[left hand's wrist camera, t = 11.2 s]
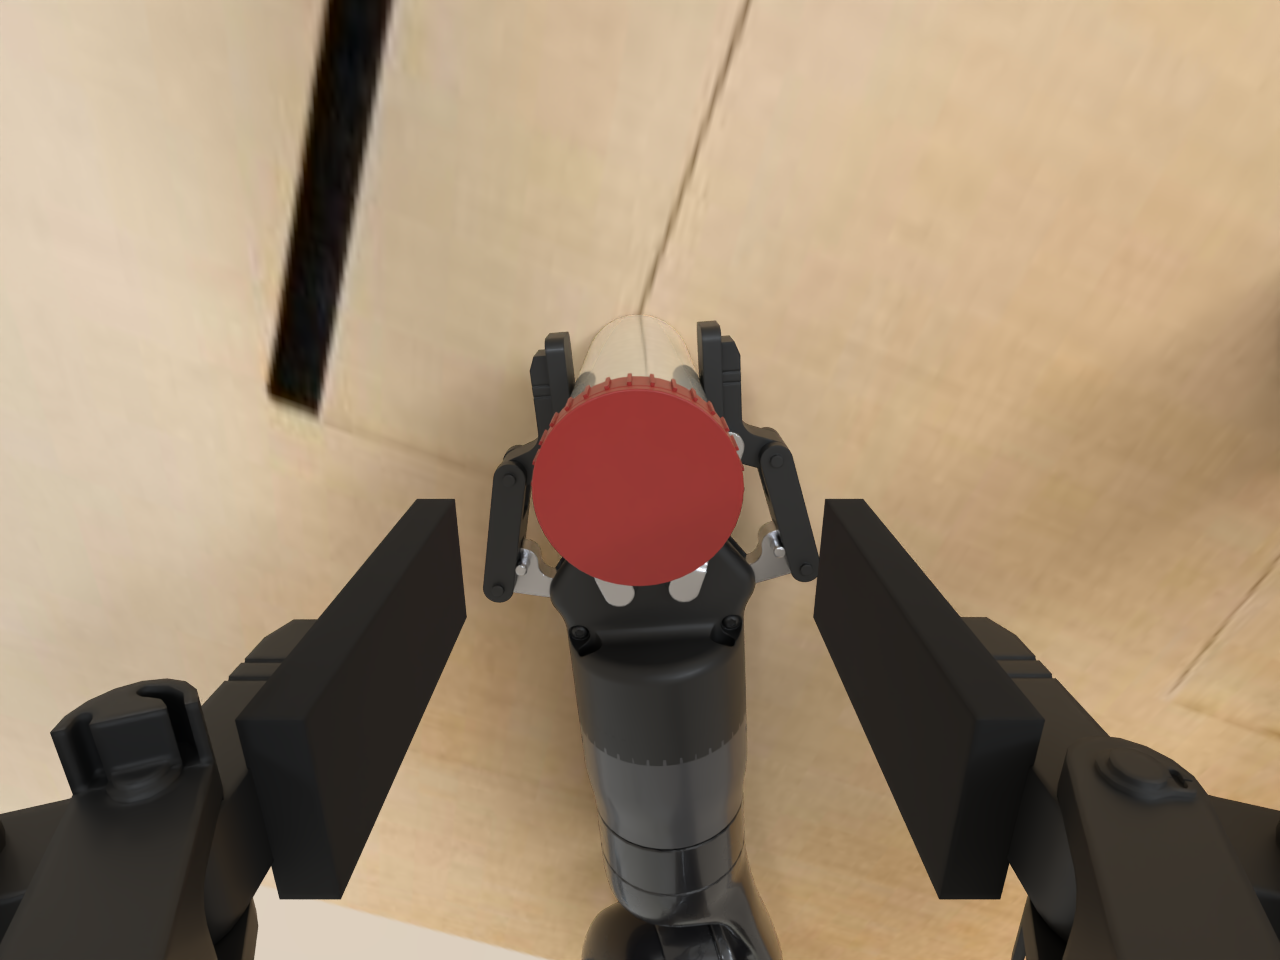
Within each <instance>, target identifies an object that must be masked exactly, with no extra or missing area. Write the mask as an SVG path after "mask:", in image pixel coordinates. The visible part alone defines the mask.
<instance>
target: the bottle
mask: <svg viewBox="0 0 1280 960" xmlns="http://www.w3.org/2000/svg"><path fill="white" fill-rule="evenodd" d="M628 373H632V376H647V377H650V374H654V378H660V379H664V380H667V381H671V379H675V380H676V384H678V385H681V386H683V387H685V388H687V389H689V390H690V389H691V388H693V389H695V391H696V394H697V395H698V396H699V397H700V398H702V399H703V400H704V401H705V402H708V400H707V398H706V395H705V393H704V390H703V388H702V385H701V383H700V380H699V377H698V375H697V372H696V370H695V367H694V365H693V362H692V359H691V357H690V354H689V352H688V349H687V347H686V344H685V342H684V341H683V339H682V337H681V336H680V335H679V333H678V332H677V331H676V330H675V329H674V328H673V327H672V326H670V325H669V324H668V323H666V322H664V321H663V320H661V319H658V318H656V317H653V316H649V315H638V314H635V315H628V316H624V317H621V318H618V319H616V320H614V321H612V322H610V323H609V324H607V325H606V326H605V327H604V328H603V329H602V330H601V331H600V332H599V333H598V334H597V335H596V337H595V338H594V340H593V341H592V343H591V345H590V348H589V350H588V353H587V355H586V358H585V360H584V363H583V365H582V368H581V370H580V373H579V375H578V378H577V380H576V383H575V385H574V388H573V390H572V393H571V396H570V397H572V398H573V399H574V398H575V397H576V396H578V395H579V394H580V393H582V392H584V391H585V388H586V386H588V385H590V387H593V386H595V385H597V384H600V383H602V382H605V380H606V378H607V377H610V379H611V380H612V379H616V378H621V377H627V376H628Z"/></svg>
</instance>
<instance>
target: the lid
mask: <svg viewBox="0 0 1280 960" xmlns="http://www.w3.org/2000/svg"><path fill="white" fill-rule="evenodd" d="M549 426H550V428H549V430H545V431H544V433H543V435H542V438H541V440H540V442H539V445H541V448H540V449H538V451H537V454H536V456H535V458H534V460H533V464H532V465H535V466H534V470H533V477H532V481H531V486H532V499H533V504H534V510H535V513H536V516H537V519H538V522H539V524H540V526H541V528H542V530H543V532H544V534H545V536H546V537H547V539H548V540H549V542H550V543H551V545H552V546H553V547H554V548H555V549H556V550H557V552H558V553H559V554H560V555H561V556H562V557H563V558H565V559H566V560H567V561H568V562H569V563H570V564H572V565H573V566H575V567H576V568H578V569H579V570H581V571H582V572H584V573H586V574H588V575H590V576H592V577H595V578H597V579H600V580H603V581H606V582H610V583H614V584H619V585H627V586H649V585H657V584H661V583H666V582H670V581H673V580H676V579H678V578H681V577H683V576H685V575H687V574H689V573H691V572H693V571H695V570H696V569H698V568H699V567H701V566H703V565H704V564H705V563H706V562H708V561H709V560H710V559H711V558H712V557H713V556H714V555H715V554H716V553H717V552H718V551H719V550H720V549H721V548H722V547H723V545H724V544H725V542H726V541H727V540H728V538H729V537H730V535H731V533H732V531H733V529H734V528H735V526H736V523H737V520H738V518H739V515H740V512H741V507H742V502H743V492H744V483H743V473H742V471H744V467H743V465H742V462H741V460H740V458H739V455H738V454H737V452H736V451H738V450H739V448H738V445H737V443H736V441H735V439H734V436H733V435H731V436H730V435H729V433H728V431H730V430H729V428H728V425H727V423H726V421H725V419H724V417H721V418H720V417H719V416H718V415H717V413H716V412H715V410H714V408H713V405H712V403H711V402H710V401H708V402H705V401H704V400H703V399H702V398H700V397H699V396H698V395H697V394H696V391H695V389H693V388H691V389H690V390H689V389H687V388H685V387H683V386H681V385H678V384H676V380H675V379H671V381H667V380H664V379H660V378H654V374H650V377H647V376H632V373H628V376H627V377H621V378H616V379H612V380H611V379H610V377H607V378H606V380H605V382H602V383H600V384H597V385H595V386H593V387H590V385H588V386H586V388H585V391H584V392H582V393H580V394H579V395H578V396H576V397H575V398H574V399H573V398H572V397H570V398H569V399H568V401H567V403H566V406H565V407H564V408H563V409H562V410H561V412H560V413H557V412H556V413H555V414H554V416H553V418H552V420H551V423H550V425H549Z"/></svg>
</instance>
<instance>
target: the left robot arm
mask: <svg viewBox="0 0 1280 960" xmlns="http://www.w3.org/2000/svg"><path fill="white" fill-rule="evenodd" d="M466 617H467V616H466V606H465V596H464V586H463V576H462V566H461V556H460V546H459V536H458V526H457V517H456V507H455V499H417V500H416V501H415V502H414V503H413V504H412V506H411V507H410V508H409V509H408V510H407V512H406V513H405V514H404V515H403V517H402V518H401V519H400V520H399V521H398V523H397V524H396V525H395V526H394V527H393V529H392V530H391V531H390V532H389V534H388V535H387V536H386V537H385V538H384V540H383V541H382V542H381V543H380V544H379V546H378V547H377V548H376V549H375V550H374V552H373V553H372V554H371V555H370V557H369V558H368V559H367V560H366V561H365V563H364V564H363V565H362V566H361V567H360V569H359V570H358V571H357V572H356V574H355V575H354V576H353V577H352V578H351V580H350V581H349V582H348V583H347V584H346V586H345V587H344V588H343V589H342V590H341V592H340V593H339V594H338V595H337V597H336V598H335V599H334V600H333V601H332V603H331V604H330V605H329V606H328V607H327V609H326V610H325V611H324V612H323V614H322V615H321V616H320V617H319V618H318V620H292V621H291V622H289V623H287V624H286V625H284V626H283V627H281V628H279V629H278V630H276V631H274V632H273V633H271V634H269V635H268V636H266V637H265V638H264V639H263V640H262V641H261V642H260V643H259V644H258V645H257V646H256V647H255V648H254V650H253V651H252V652H251V653H250V654H249V655H248V656H247V657H246V658H245V663H241V664H240V665H239V666H238V667H237V668H236V669H235V670H234V671H233V672H232V674H231V675H230V676H229V680H228V681H224V682H223V683H222V684H221V685H220V687H219V688H218V689H217V690H216V691H215V692H214V693H213V694H212V695H211V696H210V697H209V699H208V700H207V701H206V702H205V703H204V704H203V705H202V706H201V704H200V700H199V696H198V693H197V689H195V688H194V687H193V686H191V685H190V684H189V683H187V682H186V681H180V680H174V679H157V680H148V681H141V682H137V683H134V684H130V685H126V686H123V687H119V688H116V689H113V690H111V691H109V692H106V693H104V694H102V695H100V696H98V697H95V698H93V699H91V700H89V701H87V702H85V703H84V704H82V705H81V706H79V707H78V708H76V709H75V710H73V711H72V712H70V713H69V714H67V715H66V716H65V717H64V718H63V719H62V720H61V721H60V722H59V723H58V724H57V725H56V727H55V728H54V729H53V730H52V731H51V732H50V734H51V737H52V739H53V742H54V745H55V747H56V750H57V753H58V756H59V758H60V761H61V764H62V766H63V769H64V772H65V775H66V777H67V780H68V783H69V785H70V788H71V791H72V794H73V796H72V798H70V799H66V800H62V801H57V802H53V803H48V804H44V805H39V806H35V807H30V808H26V809H21V810H17V811H12V812H8V813H3V814H0V960H254V955H255V947H256V939H257V932H258V921H257V913H256V908H255V904H254V900H253V896H254V894H255V893H256V891H257V889H258V887H259V886H260V884H261V882H262V881H263V879H264V877H265V875H266V874H267V872H268V870H269V868H270V867H271V866H272V870H273V874H274V878H275V882H276V886H277V890H278V894H279V898H280V899H341V898H342V895H343V893H344V891H345V889H346V886H347V884H348V882H349V880H350V877H351V875H352V873H353V871H354V868H355V866H356V864H357V862H358V859H359V857H360V855H361V853H362V851H363V848H364V846H365V844H366V842H367V839H368V837H369V835H370V833H371V830H372V828H373V826H374V824H375V821H376V819H377V817H378V815H379V812H380V810H381V808H382V806H383V803H384V801H385V799H386V797H387V794H388V792H389V790H390V788H391V786H392V783H393V781H394V779H395V777H396V774H397V772H398V770H399V768H400V765H401V763H402V761H403V759H404V756H405V754H406V752H407V750H408V747H409V745H410V743H411V741H412V738H413V736H414V734H415V732H416V730H417V727H418V725H419V723H420V721H421V718H422V716H423V714H424V712H425V709H426V707H427V705H428V703H429V700H430V698H431V696H432V694H433V691H434V689H435V687H436V685H437V682H438V680H439V678H440V676H441V673H442V671H443V669H444V667H445V665H446V662H447V660H448V658H449V656H450V653H451V651H452V649H453V647H454V644H455V642H456V640H457V638H458V635H459V633H460V631H461V629H462V626H463V624H464V622H465V620H466ZM813 617H814V620H815V622H816V624H817V626H818V629H819V631H820V633H821V635H822V638H823V640H824V642H825V644H826V647H827V649H828V651H829V653H830V656H831V658H832V660H833V662H834V665H835V667H836V669H837V671H838V673H839V676H840V678H841V680H842V682H843V685H844V687H845V689H846V691H847V694H848V696H849V698H850V700H851V703H852V705H853V707H854V709H855V712H856V714H857V716H858V718H859V721H860V723H861V725H862V727H863V730H864V732H865V734H866V736H867V738H868V741H869V743H870V745H871V747H872V750H873V752H874V754H875V756H876V759H877V761H878V763H879V765H880V768H881V770H882V772H883V774H884V777H885V779H886V781H887V783H888V786H889V788H890V790H891V792H892V794H893V797H894V799H895V801H896V803H897V806H898V808H899V810H900V812H901V815H902V817H903V819H904V821H905V824H906V826H907V828H908V830H909V833H910V835H911V837H912V839H913V842H914V844H915V846H916V848H917V851H918V853H919V855H920V857H921V859H922V862H923V864H924V866H925V868H926V871H927V873H928V875H929V877H930V880H931V882H932V884H933V886H934V889H935V891H936V893H937V895H938V898H939V899H1000V898H1001V894H1002V890H1003V886H1004V882H1005V878H1006V874H1007V870H1008V866H1009V863H1010V865H1011V867H1012V868H1013V870H1014V872H1015V873H1016V875H1017V877H1018V879H1019V880H1020V882H1021V884H1022V885H1023V887H1024V889H1025V891H1026V892H1027V894H1028V897H1027V900H1026V904H1025V908H1024V912H1023V915H1022V919H1021V923H1020V926H1019V930H1018V934H1017V938H1016V941H1015V945H1014V949H1013V952H1012V958H1011V960H1024V958H1025V956H1026V960H1280V811H1278V810H1273V809H1269V808H1264V807H1260V806H1255V805H1251V804H1246V803H1242V802H1237V801H1232V800H1228V799H1223V798H1219V797H1214V796H1211V795H1208V794H1207V793H1206V792H1205V790H1204V789H1203V788H1202V786H1201V785H1200V784H1199V782H1198V781H1197V780H1196V779H1195V777H1194V776H1193V775H1191V774H1190V773H1189V772H1188V771H1186V770H1185V769H1184V768H1182V767H1181V766H1180V765H1179V764H1177V763H1176V762H1175V761H1173V760H1172V759H1170V758H1168V757H1166V756H1164V755H1162V754H1160V753H1158V752H1156V751H1154V750H1153V749H1151V748H1149V747H1147V746H1144V745H1140V744H1137V743H1134V742H1131V741H1128V740H1125V739H1122V738H1115V737H1110V736H1109V735H1108V734H1107V733H1106V732H1105V731H1104V730H1103V729H1102V728H1101V727H1100V726H1099V724H1098V723H1097V722H1096V721H1095V720H1094V719H1093V718H1092V717H1091V716H1090V715H1089V714H1088V713H1087V711H1086V710H1085V709H1084V708H1083V707H1082V706H1081V705H1080V704H1079V703H1078V702H1077V701H1076V700H1075V699H1074V697H1073V696H1072V695H1071V694H1070V693H1069V692H1068V691H1067V690H1066V689H1065V688H1064V687H1063V686H1062V684H1061V683H1060V682H1059V681H1058V680H1057V679H1056V678H1052V674H1051V673H1050V671H1049V670H1048V669H1047V668H1046V667H1045V666H1044V665H1043V664H1042V663H1041V662H1040V661H1039V660H1036V659H1035V655H1034V654H1033V653H1032V652H1031V651H1030V650H1029V649H1028V648H1027V647H1026V646H1025V644H1024V643H1023V642H1022V641H1021V640H1020V639H1019V638H1018V637H1017V636H1016V635H1015V634H1013V633H1011V632H1010V631H1008V630H1007V629H1005V628H1003V627H1002V626H1000V625H998V624H997V623H995V622H993V621H992V620H990V619H989V618H987V617H960V616H959V615H958V614H957V612H956V611H955V610H954V609H953V607H952V606H951V605H950V604H949V603H948V601H947V600H946V599H945V598H944V597H943V595H942V594H941V593H940V592H939V590H938V589H937V588H936V587H935V586H934V584H933V583H932V582H931V581H930V580H929V578H928V577H927V576H926V575H925V574H924V572H923V571H922V570H921V569H920V567H919V566H918V565H917V564H916V563H915V561H914V560H913V559H912V558H911V557H910V555H909V554H908V553H907V552H906V550H905V549H904V548H903V547H902V546H901V544H900V543H899V542H898V541H897V540H896V538H895V537H894V536H893V535H892V534H891V532H890V531H889V530H888V529H887V527H886V526H885V525H884V524H883V523H882V521H881V520H880V519H879V518H878V517H877V515H876V514H875V513H874V512H873V510H872V509H871V508H870V507H869V506H868V504H867V503H866V502H865V501H864V500H863V499H825V507H824V517H823V526H822V536H821V546H820V556H819V566H818V576H817V586H816V596H815V606H814V616H813Z"/></svg>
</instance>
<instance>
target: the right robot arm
mask: <svg viewBox="0 0 1280 960" xmlns="http://www.w3.org/2000/svg"><path fill="white" fill-rule="evenodd" d="M697 343H698V364H699V380H700V383H701V385H702V388H703V390H704V393H705V395H706V398H707V400H708V401H710V402H711V403H712V405H713V408H714V410H715V412H716V413H717V415H718V416H719V417H720V418H721V417H724V419H725V421H726V423H727V425H728V428H729V430H730V431H728V433H729V435H730V436H731V435H733V436H734V439H735V441H736V443H737V445H738V448H739V450H738V451H736V452H737V454H738V455H739V458H740V460H741V462H742V464H745V465H749V466H753V467H756V468H758V472H759V476H760V479H761V483H762V486H763V490H764V493H765V497H766V500H767V504H768V507H769V511H770V514H771V518H772V521H771V522H768V523H766V524H764V525H763V526H762V527H761V528H760V530H759V532H758V545H757V547H756V549H755V550H754V551H753V552H751V553H750V554H746V553H745V552H744V551H743V550H742V549H741V547H740V546H739V545H738V544H737V543H736V542H735V541H734V539H733V538H732V537H731V536H730V537H729V538H728V540H727V541H726V542H725V544H724V545H723V547H722V548H721V549H720V550H719V551H718V552H717V553H716V554H715V555H714V556H713V557H712V558H711V559H710V560H709V561H708V562H706V563H705V564H704V565H703V566H701V567H699V568H698V569H696V570H695V571H693V572H691V573H689V574H687V575H685V576H683V577H681V578H678V579H676V580H673V581H670V582H666V583H661V584H657V585H649V586H627V585H619V584H614V583H610V582H606V581H603V580H600V579H597V578H595V577H592V576H590V575H588V574H586V573H584V572H582V571H581V570H579V569H578V568H576V567H575V566H573V565H572V564H570V563H569V562H568V561H567V560H566V559H565V558H563V557H562V558H561V560H560V561H559V563H558V564H557V566H556V568H552V567H550V566H548V565H547V564H545V562H544V561H543V559H542V556H541V549H540V547H539V545H538V544H537V543H536V542H534V541H532V540H529V539H526V531H527V522H528V513H529V504H530V496H531V487H532V486H531V481H532V477H533V470H534V466H535V465H532V464H533V460H534V458H535V456H536V454H537V451H538V449H540V448H541V445H539V442H540V440H541V438H542V435H543V433H544V431H545V430H549V428H550V426H549V425H550V423H551V420H552V418H553V416H554V414H555V413H556V412H557V413H560V412H561V410H562V409H563V408H564V407H565V406H566V403H567V401H568V399H569V398H570V396H571V393H572V390H573V388H574V385H575V378H574V370H573V361H572V352H571V343H570V337H569V333H568V332H559V333H550V334H549V335H548V336H547V337H546V339H545V350H538V352H537V353H536V354H535V355H534V357H533V361H532V365H531V368H530V376H531V383H532V390H533V396H534V405H535V412H536V419H537V427H538V438H537V439H535V440H534V441H532V442H530V443H527V444H525V445H523V446H522V445H516V446H513V447H511V448H510V449H509V450H508V451H507V452H506V454H505V456H504V459H503V462H502V463H501V464H500V465H499V466H498V468H497V470H496V471H495V473H494V477H493V488H492V499H491V510H490V520H489V531H488V542H487V552H486V563H485V574H484V584H483V591H484V594H485V595H486V597H487V598H488V599H490V600H491V601H494V602H505V601H507V600H508V599H510V598H511V596H512V594H513V592H515V593H522V594H530V595H537V596H544V597H550V599H551V601H552V603H553V605H554V607H555V608H556V609H557V610H558V612H559V613H560V614H561V616H562V617H563V619H564V621H565V623H566V626H567V632H568V638H569V646H570V653H571V661H572V668H573V676H574V683H575V690H576V698H577V706H578V713H579V721H580V728H581V736H582V743H583V750H584V758H585V763H586V769H587V772H588V776H589V779H590V783H591V786H592V789H593V792H594V795H595V800H596V805H597V813H598V821H599V828H600V836H601V846H602V853H603V860H604V866H605V871H606V875H607V879H608V882H609V885H610V887H611V890H612V892H613V893H614V895H615V897H616V899H617V900H618V901H619V902H617V903H615V904H612V905H611V906H609V907H607V908H605V909H604V910H602V911H601V912H600V913H599V914H598V915H597V916H596V917H595V919H594V920H593V922H592V923H591V925H590V928H589V930H588V932H587V934H586V938H585V941H584V945H583V950H582V960H783V957H782V952H781V947H780V943H779V940H778V937H777V934H776V931H775V928H774V925H773V923H772V920H771V918H770V916H769V914H768V912H767V909H766V907H765V905H764V903H763V901H762V899H761V897H760V894H759V892H758V890H757V888H756V885H755V883H754V879H753V876H752V873H751V869H750V866H749V862H748V858H747V853H746V848H745V837H744V804H743V782H744V775H745V769H746V761H747V723H746V686H745V650H744V609H745V606H746V604H747V602H748V600H749V598H750V596H751V595H752V593H753V591H754V588H755V583H758V582H761V581H765V580H768V579H772V578H775V577H779V576H782V575H786V574H789V573H791V574H792V576H793V577H794V578H795V579H796V580H798V581H801V582H809V581H812V580H814V579H815V578H816V577H817V576H818V566H819V556H818V552H817V548H816V544H815V540H814V537H813V533H812V529H811V525H810V521H809V518H808V514H807V510H806V506H805V502H804V499H803V495H802V491H801V487H800V483H799V480H798V476H797V472H796V468H795V464H794V461H793V457H792V454H791V452H790V450H789V449H788V447H787V446H786V444H785V443H784V441H783V440H782V438H781V437H780V435H779V434H778V433H777V431H776V430H774V429H772V428H769V427H764V428H758V427H755V426H751V425H748V424H746V423H745V422H743V421H742V407H741V372H740V370H741V367H740V353H739V351H738V349H737V347H736V344H735V342H734V341H733V339H732V338H731V337H730V336H721V330H720V326H719V324H718V323H717V322H716V321H705V322H697Z"/></svg>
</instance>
